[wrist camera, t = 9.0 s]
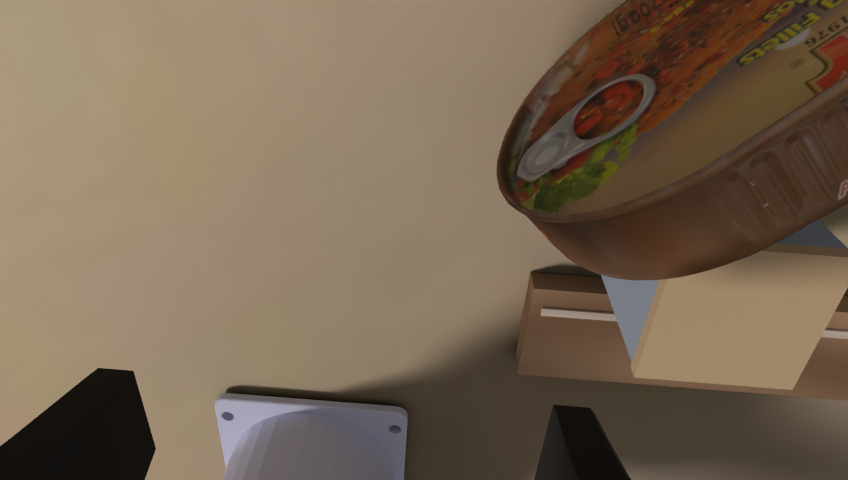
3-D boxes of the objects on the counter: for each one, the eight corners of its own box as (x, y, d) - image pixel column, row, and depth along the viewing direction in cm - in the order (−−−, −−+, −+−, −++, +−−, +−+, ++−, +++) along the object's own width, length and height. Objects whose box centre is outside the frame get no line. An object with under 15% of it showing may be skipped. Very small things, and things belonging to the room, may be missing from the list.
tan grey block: (709, 261, 21) (792, 390, 15) (590, 252, 21) (634, 377, 15) (751, 151, 18) (863, 258, 13) (618, 141, 18) (679, 244, 13)
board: (876, 384, 23) (894, 405, 22) (515, 356, 23) (517, 376, 22) (929, 302, 21) (951, 322, 20) (530, 271, 21) (534, 290, 20)
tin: (1045, -335, 13) (1833, -613, 5) (1083, -195, 14) (1772, -272, 7) (481, 111, 18) (497, 267, 11) (542, 183, 19) (591, 365, 12)
